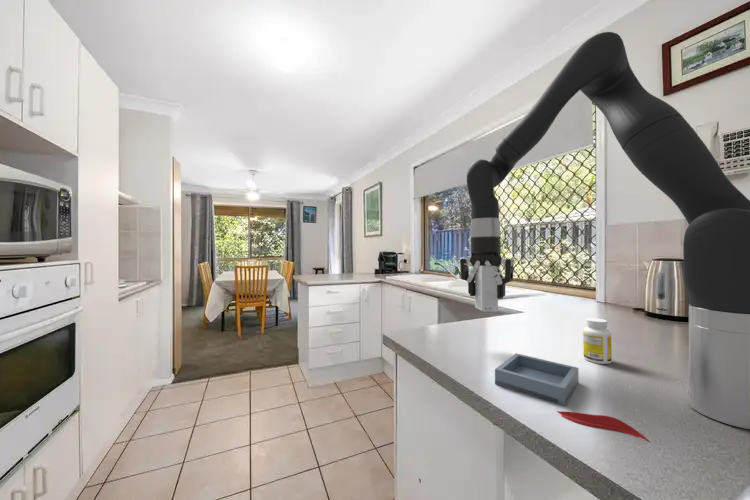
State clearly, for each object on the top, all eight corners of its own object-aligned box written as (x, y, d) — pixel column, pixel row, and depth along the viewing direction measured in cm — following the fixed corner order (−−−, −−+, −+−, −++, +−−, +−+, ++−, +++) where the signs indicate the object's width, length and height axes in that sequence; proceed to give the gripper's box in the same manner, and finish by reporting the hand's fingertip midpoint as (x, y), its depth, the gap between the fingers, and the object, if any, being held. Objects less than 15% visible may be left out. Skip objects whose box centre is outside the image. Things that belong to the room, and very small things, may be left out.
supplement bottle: (601, 356, 73) (601, 317, 73) (617, 365, 68) (617, 322, 68) (578, 356, 74) (578, 317, 74) (592, 364, 68) (592, 322, 68)
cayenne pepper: (656, 440, 42) (656, 427, 42) (649, 455, 39) (649, 441, 39) (562, 405, 51) (562, 394, 51) (551, 415, 48) (551, 403, 48)
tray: (578, 382, 59) (578, 367, 59) (564, 405, 51) (564, 388, 51) (515, 366, 68) (515, 353, 67) (494, 383, 59) (494, 369, 59)
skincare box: (498, 312, 76) (498, 265, 76) (482, 312, 76) (481, 266, 76) (490, 307, 82) (489, 264, 82) (474, 307, 82) (474, 264, 82)
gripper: (518, 235, 77) (519, 298, 77) (466, 237, 87) (467, 293, 87) (507, 234, 72) (508, 302, 72) (454, 236, 82) (455, 296, 81)
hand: (486, 297), depth 79 cm, fingers closed on skincare box, 7 cm apart
